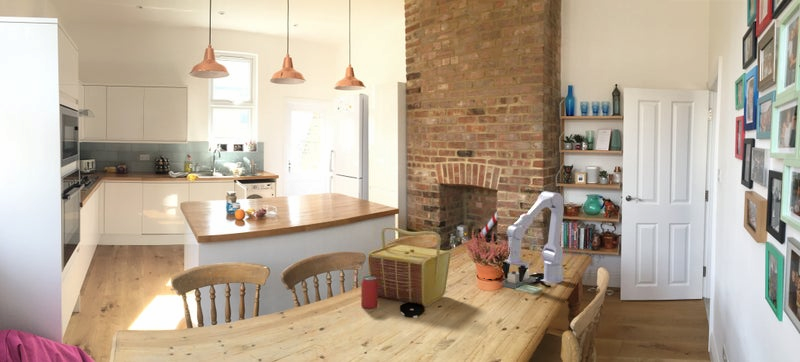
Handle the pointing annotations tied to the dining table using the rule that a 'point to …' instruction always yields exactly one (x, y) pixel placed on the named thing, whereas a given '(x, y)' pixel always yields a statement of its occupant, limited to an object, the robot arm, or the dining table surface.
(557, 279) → the robot arm
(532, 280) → the small drawer cabinet
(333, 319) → the dining table surface
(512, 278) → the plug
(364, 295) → the beer can
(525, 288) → the tray
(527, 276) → the pull-out knob drawer
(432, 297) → the picnic basket
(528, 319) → the dining table surface
